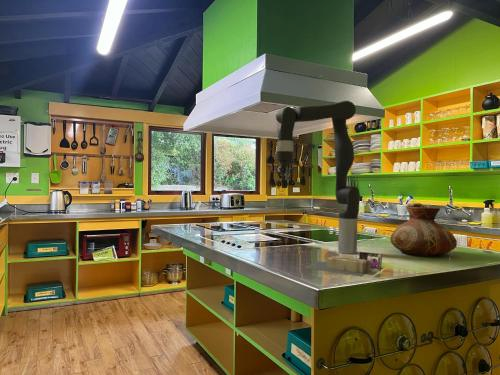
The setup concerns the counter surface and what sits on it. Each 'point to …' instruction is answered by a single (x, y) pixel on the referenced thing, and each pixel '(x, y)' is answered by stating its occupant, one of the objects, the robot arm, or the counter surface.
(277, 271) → the counter surface
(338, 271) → the rubber mat
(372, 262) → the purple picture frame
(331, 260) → the beech block
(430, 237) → the brown clay pot
